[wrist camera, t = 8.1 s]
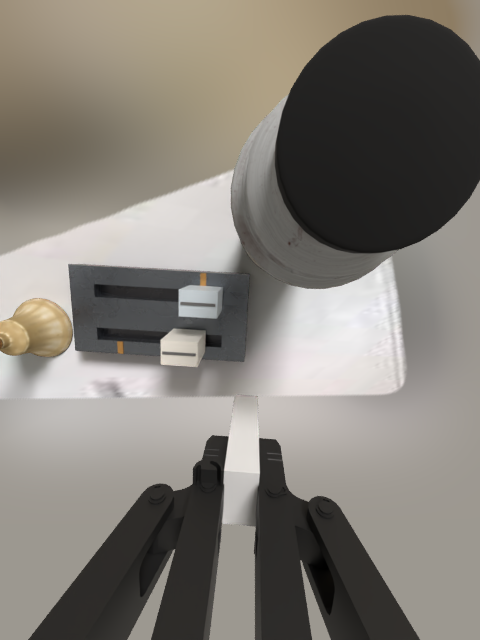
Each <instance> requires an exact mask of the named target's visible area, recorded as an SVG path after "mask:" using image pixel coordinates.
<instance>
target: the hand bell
mask: <svg viewBox="0 0 480 640" xmlns="http://www.w3.org/2000/svg"><path fill="white" fill-rule="evenodd" d="M71 339H72V325H71V322H70V319H69V317H68V316H67V314H66V313H65V311H64V310H63V309H62V308H61V307H60V306H58V305H57V304H56V303H54V302H52V301H49V300H46V299H40V298H35V299H31V300H28V301H25V302H24V303H22V304H21V305H20V306H19V307H18V308H17V309H16V311H15V313H14V315H13V317H11V318H9V319H7V320H4V321H1V322H0V351H2V352H3V353H5V354H7V355H12V356H17V355H21V354H25V353H32V354H35V355H37V356H43V357H52V356H56V355H59V354H61V353H62V352H64V351H65V350H66V349H67V348H68V346H69V345H70V342H71Z"/></svg>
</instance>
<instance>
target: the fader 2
mask: <svg viewBox="0 0 480 640" xmlns="http://www.w3.org/2000/svg"><path fill="white" fill-rule="evenodd" d="M205 339H206V330H191V329H175V328H174V329H173V330H171V331H170V332H169V333H168V334H167V335H166V336H165V337H163V338H162V339H161V365H172V366H187V367H198V365H199V363H200V361H201V359H202V357H203V355H204V353H205Z"/></svg>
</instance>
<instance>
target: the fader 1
mask: <svg viewBox="0 0 480 640" xmlns="http://www.w3.org/2000/svg"><path fill="white" fill-rule="evenodd" d="M222 299H223V287H214V286H197V285H189V286H186V287H184V288H181V289H179V316H181V317H197V318H213V319H217V318H218V316H219V314H220V313H221V311H222Z"/></svg>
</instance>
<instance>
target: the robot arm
mask: <svg viewBox="0 0 480 640" xmlns="http://www.w3.org/2000/svg"><path fill="white" fill-rule="evenodd" d="M258 428H259V427H258V396H248V395H235V397H234V405H233V411H232V419H231V426H230V433H229V437H227V436H214V435H212V436H211V437H210V438H209V439H208V440H207V443H206V446H205V450H204V455H203V458H202V460H201V461H199V462H198V463H196V464H195V466H194V468H193V484H192V485H191V486H189V487H187V488H185V489H182V490H177V491H173V490H172V488H171V487H170V486H168V485H166V484H156V485H153V486H150V487H149V488H147V489H146V490H145V491H144V492H143V493H142V494H141V496H140V497H139V498H138V500H137V501H136V502H135V504H134V505H133V506H132V507H131V509H130V510H129V511H128V512H127V514H126V515H125V517H124V518H123V519H122V520H121V521H120V523H119V524H118V525H117V527H116V528H115V529H114V530H113V532H112V533H111V534H110V536H109V537H108V538H107V539H106V541H105V542H104V543H103V545H102V546H101V547H100V548H99V550H98V551H97V552H96V554H95V555H94V556H93V557H92V559H91V560H90V561H89V563H88V564H87V565H86V566H85V568H84V569H83V570H82V571H81V573H80V574H79V575H78V577H77V578H76V579H75V581H74V582H73V583H72V584H71V586H70V587H69V588H68V590H67V591H66V592H65V593H64V595H63V596H62V597H61V599H60V600H59V601H58V602H57V604H56V605H55V606H54V607H53V609H52V610H51V611H50V612H49V614H48V615H47V616H46V618H45V619H44V620H43V621H42V623H41V624H40V625H39V627H38V628H37V629H36V630H35V632H34V633H33V634H32V636H31V637H30V638H29V639H28V640H127V639H128V637H129V635H130V633H131V631H132V629H133V627H134V625H135V623H136V621H137V620H138V617H139V616H140V614H141V611H142V610H143V608H144V606H145V604H146V602H147V600H148V598H149V596H150V594H151V592H152V590H153V589H154V587H155V584H156V583H157V581H158V579H159V577H160V575H161V573H162V571H163V569H164V567H165V565H166V563H167V561H168V559H169V558H170V556H171V554H172V551H173V549H175V553H174V557H173V561H172V564H171V568H170V571H169V576H168V579H167V583H166V586H165V590H164V594H163V597H162V601H161V605H160V609H159V612H158V616H157V620H156V623H155V627H154V631H153V634H152V638H151V640H209V635H210V627H211V618H212V609H213V601H214V592H215V584H216V574H217V567H218V557H219V549H220V541H221V526H222V523H224V524H235V525H247V526H256V532H255V545H254V546H255V547H254V554H255V640H312V636H311V630H310V623H309V617H308V610H307V603H306V597H305V590H304V585H303V577H302V570H301V564H300V560H302V562H303V566H304V569H305V571H306V574H307V577H308V579H309V582H310V585H311V587H312V590H313V593H314V595H315V598H316V601H317V603H318V606H319V609H320V612H321V614H322V617H323V619H324V622H325V625H326V627H327V630H328V633H329V635H330V638H331V640H420V639H419V637H418V636H417V634H416V632H415V631H414V629H413V628H412V626H411V624H410V623H409V621H408V620H407V618H406V616H405V614H404V613H403V611H402V609H401V608H400V606H399V604H398V603H397V601H396V599H395V598H394V596H393V595H392V593H391V591H390V590H389V588H388V586H387V585H386V583H385V581H384V580H383V578H382V576H381V575H380V573H379V572H378V570H377V568H376V567H375V565H374V563H373V562H372V560H371V558H370V557H369V555H368V553H367V552H366V550H365V548H364V547H363V545H362V543H361V542H360V540H359V539H358V537H357V535H356V534H355V532H354V530H353V529H352V527H351V525H350V524H349V522H348V520H347V519H346V517H345V515H344V514H343V512H342V511H341V509H340V507H339V506H338V505H337V504H336V503H335V502H334V501H332V500H331V499H329V498H326V497H323V496H317V497H314V498H312V499H311V500H310V501H309V502H307V501H304V500H302V499H300V498H298V497H296V496H294V495H293V494H292V493H291V492H290V491H289V489H288V488H287V486H286V482H285V474H284V467H283V461H282V455H281V447H280V445H279V443H278V442H277V441H276V440H274V439H262V438H259V431H258Z"/></svg>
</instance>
